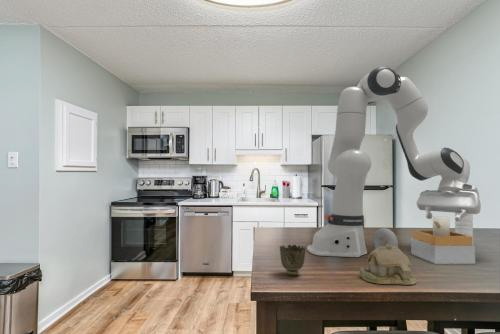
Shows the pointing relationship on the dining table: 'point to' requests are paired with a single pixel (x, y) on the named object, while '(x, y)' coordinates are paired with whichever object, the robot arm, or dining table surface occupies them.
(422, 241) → the white orange open box
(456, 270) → the dining table surface
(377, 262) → the ceramic model
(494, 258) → the dining table surface
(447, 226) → the spout can
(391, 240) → the donut
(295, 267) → the cup
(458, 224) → the water bottle
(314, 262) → the dining table surface
